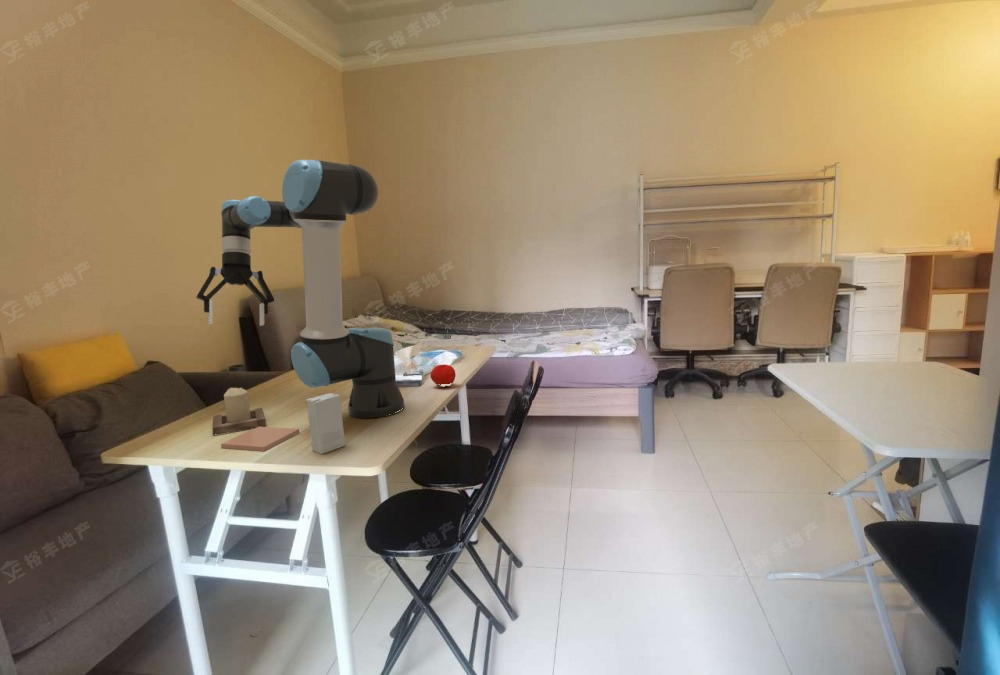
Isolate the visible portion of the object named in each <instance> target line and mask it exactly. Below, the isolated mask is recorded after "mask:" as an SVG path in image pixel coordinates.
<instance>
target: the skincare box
mask: <svg viewBox="0 0 1000 675" xmlns="http://www.w3.org/2000/svg"><path fill="white" fill-rule="evenodd" d="M341 401H342V400H341V396H340V394H336V393H332V392H328V393H325V394H322V395H318V396H314V397H311V398H306V409H307V415H308V424H309V433H310V434H309V435H310V441H311V449H312V451H313V452H316V453H318V454H321V455H323V454H326V453H329V452H331V451H335V450H337V449H339V448H343V447H345V446H346V440H345V439H346V438H345V431H344V430H345V429H344V420H343V413H342V411H343V410H342V404H341V403H342V402H341Z"/></svg>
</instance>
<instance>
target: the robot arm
mask: <svg viewBox="0 0 1000 675" xmlns="http://www.w3.org/2000/svg"><path fill="white" fill-rule="evenodd" d="M281 185H282V186H281V187H282V189H281V194H282V195H281V196H282V201H277V200H266V199H265V198H263V197H260V196H257V195H251V196H249V197H246V198H243V199H242V200H239V199H229V200H225V201H223V202H222V206H221V213H220V214H221V239H222V240H221V251H222V252H223V253H222V254H221V268H216V267H215V266H211V267H210V269H209V274H208V277H207V278H206V279H205V281H204V283H203V284H202V286H201V288H200V290H199V291H198V293H197V295H196V299H197V300H200V301H203V311H204V313H208V314H207V320H208V321H207V325H213V322H214V321H213V318H214V317H213V310H214V308H213V304H214V303H213V302H214V301H213V300H211V299H212V297H214V296H215V295H216V294H217V293H218V292H219V291H220V290H221V289H222V288H223V287H224V286H225V285H226V284H228V285H230V286H231V285H232V286H235V285H237V286H243V285H244V286H245V287H247V288H248V290H250V291H251V293H253V295H254V296H255V297H256V298H257V299H258V300H259V301H260V302H261V303H259V306H258V307H259V326H260V327H262V326H265V316H266V315H268V313H269V311H268V310H269V304H270V303H273V302H274V301H275V298H274V296H273V294H272V292H271V291H270V288H269V287H268V285H267V283H266V281H265V279H264V274H263V271H262V270H258V271H253V270H252V267H251V266H252V265H251V262H252V259H251V258H252V257H251V255H250V254H251V230H253V229H255V228H297V229H298V228H299V229H301V239H302V240H301V242H302V257H303V258H302V259H303V260H302V262H303V264H302V265H303V280H304V282H303V283H304V284H303V285H304V302H305V303H304V305H305V306H304V307H305V325H306V326H305V327H303V328H304V329H302V330H301V331H300V333H299V335H300V342H297V343H295V344H294V345H293V346H292V349H291V351H290V352H291V353H290V357H291V358H290V359H291V364H292V366H293V369H294V372H295V373H296V375H297V377H298V378H299V380H300V381H301V383H302V384H304V385H305V386H306V387H309V388H311V389H312V388H315V389H316V388H319V387H321V388H322V387H328V386H331V385H334V384H338V383H342V382H347V381H350V380H352V381H351V382H352V387H351V388H352V389H351V392H350V396H349V400H348V405H347V410H348V415H349V416H351V417H354V418H359V419H375V418H374V417H377V418H382V417H381V416H384V417H387V416H386V415H389V414H392V415H394V414H393V413H395V412H397V411H399V410H401V409H402V408H403V407H404V408H405V400H404V398H403V394H402V392H401V390H400V388H399V385H398V382H397V379H396V377H397V376H396V366H395V355H394V354H395V352H394V346H395V345H394V340H393V335H392V332H391V331H390V330H388V329H386V328H374V327H352V328H348V329H347V328H346V327H345V326H344V322H343V320H344V319H343V293H342V292H343V290H342V288H343V287H342V285H343V284H342V261H341V260H342V253H341V250H342V249H341V228H342V227H343V226H344V225H345V224H346V223H347V215H351V216H354V215H359V214H364V213H366V212H368V211H370V210H372V209H373V208H374V207H375V205H376V204H377V201H378V197H379V188H378V184H377V181H376V179H375V178H374V177H373V175H372V174H371V173H370V172H369V171H368V170H366V169H365V168H364V167H360V166H358V165H356V164H346V163H340V162H339V163H338V162H332V161H324V160H318V159H296V160H295V161H293V162H292V163H291V164H289V166H288V168H287V170H286V171H285V174H284V176H283V180H282V184H281ZM218 274H220V275H221V277H222V278H223V279H222V280H221V281H220V282H219V283H218V284H216V286H215V287H214V288H213V289H212V290H210V292H209V293H208V294H206V295H204V294H205V293H206V291H207V289H208V288H209V287H210V285H211V282H212V280H213V279H214V277H216V276H217V275H218ZM252 276H253V277H254V279H255V280H257V282H258V284H259V287H260V288H261V290H262V291H263V293H262V292H261V290H260V289H258V287H257V286H256V285H255V284H254V282H253V281H252V280H251V277H252ZM395 414H396V413H395ZM389 416H390V415H389Z"/></svg>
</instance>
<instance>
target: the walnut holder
mask: <svg viewBox="0 0 1000 675" xmlns="http://www.w3.org/2000/svg"><path fill="white" fill-rule="evenodd" d="M250 416H251V419H250V420H244V421H238V422H232V423H223V422H227V415H226V413H223V414H216V415H215V414H214V415H212V434H213V435H215V434H221V433H226V434H228V433H227V432H232V433H235V432H234V431H237V432H240V431H239V430H243V431H246V430H245V429H248V430H252V429H251V428H254V429H255V428H257V427H267V422H266V421H267V420H266V416H265V413H264V410H263V407H258V408H252V409H250ZM255 417H256V418H255ZM221 435H222V434H221ZM215 436H216V435H215Z"/></svg>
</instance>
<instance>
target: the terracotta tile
mask: <svg viewBox="0 0 1000 675" xmlns="http://www.w3.org/2000/svg"><path fill="white" fill-rule="evenodd" d="M298 434H300V428H288V427H274V426H272V427H271V426H265V427H257V428H254V429H249V430H248V431H245V432H244V433H241V434H240V435H237V436H235V437H233V438H230V439H228V440H226V441H224V442H222V443H220V446H221V449H229V450H230V449H231V450H241V451H243V450H245V451H255V452H256V451H257V452H266V451H267V450H270V449H272V448H274V447H275V446H277V445H279V444H282V442H285V441H286V440H289V439H292V437H294V436H297V435H298Z"/></svg>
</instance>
